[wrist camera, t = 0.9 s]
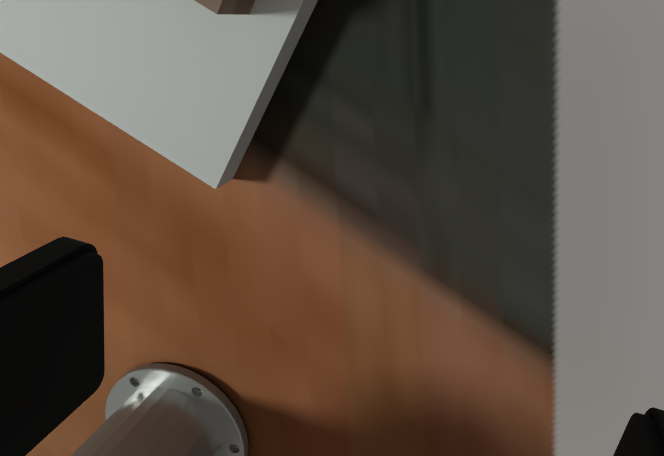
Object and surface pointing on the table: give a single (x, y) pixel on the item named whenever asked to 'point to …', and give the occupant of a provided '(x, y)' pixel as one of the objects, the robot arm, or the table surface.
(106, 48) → the trap board
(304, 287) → the table surface
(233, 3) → the walnut block
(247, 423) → the table surface
